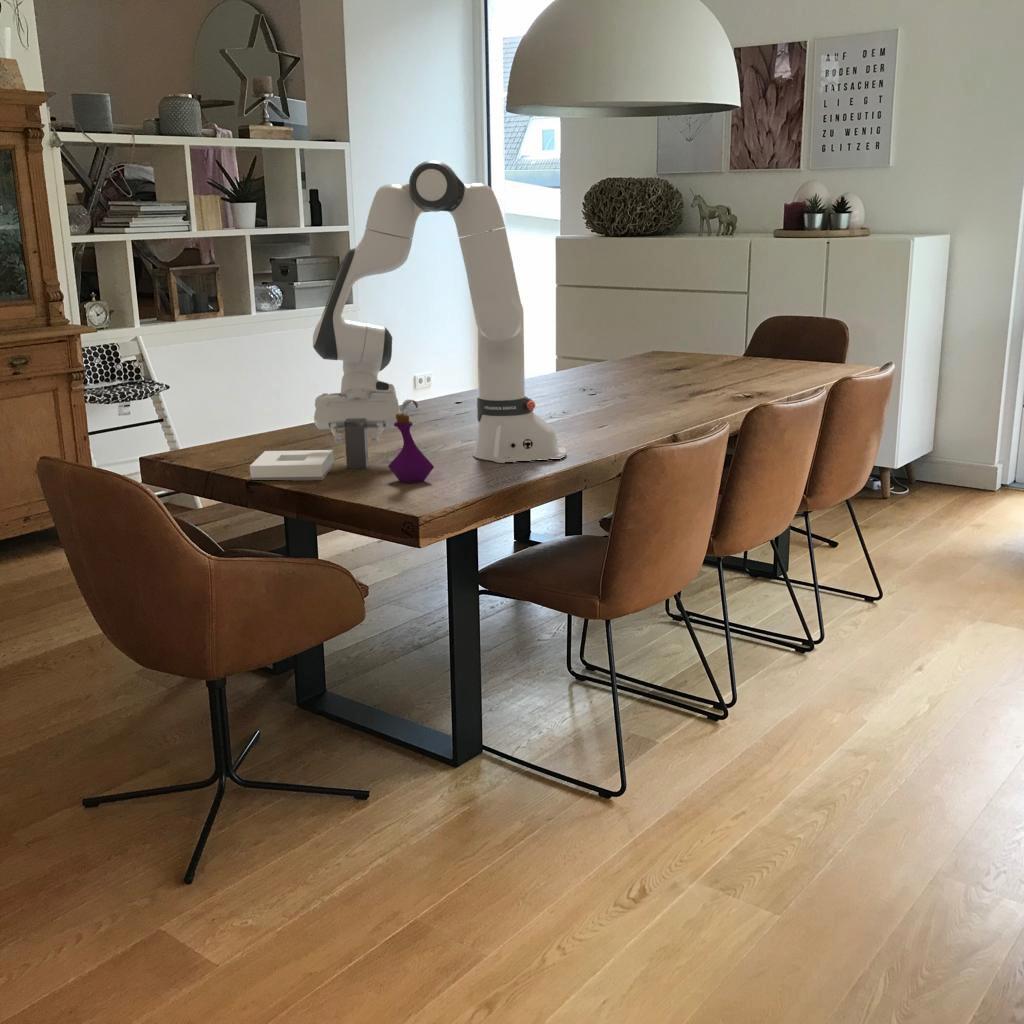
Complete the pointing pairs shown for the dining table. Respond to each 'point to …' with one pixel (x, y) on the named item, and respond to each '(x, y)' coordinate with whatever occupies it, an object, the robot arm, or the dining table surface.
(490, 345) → the robot arm
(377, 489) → the dining table surface
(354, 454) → the plug
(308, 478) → the socket block
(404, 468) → the perfume bottle
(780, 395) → the dining table surface
